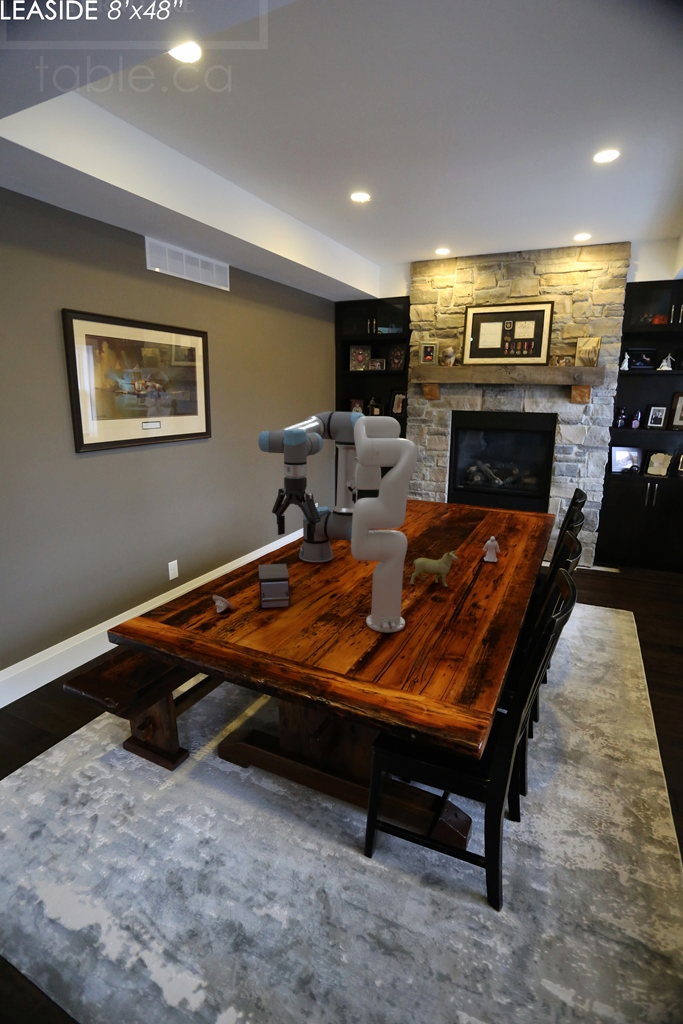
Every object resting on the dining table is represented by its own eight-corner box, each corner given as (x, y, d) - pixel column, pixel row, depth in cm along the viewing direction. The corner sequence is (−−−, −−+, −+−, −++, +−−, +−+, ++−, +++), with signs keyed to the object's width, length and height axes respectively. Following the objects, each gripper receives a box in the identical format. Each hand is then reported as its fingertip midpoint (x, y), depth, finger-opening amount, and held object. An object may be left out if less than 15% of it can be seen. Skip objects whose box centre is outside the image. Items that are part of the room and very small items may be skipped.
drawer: (289, 613, 166) (289, 589, 164) (262, 615, 165) (262, 591, 163) (285, 591, 184) (285, 569, 182) (260, 593, 182) (260, 570, 180)
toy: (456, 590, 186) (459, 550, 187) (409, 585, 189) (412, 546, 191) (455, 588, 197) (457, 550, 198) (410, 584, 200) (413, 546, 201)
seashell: (218, 620, 170) (203, 603, 170) (229, 610, 174) (214, 593, 173) (227, 616, 164) (211, 598, 164) (238, 606, 168) (222, 587, 167)
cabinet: (289, 605, 175) (289, 577, 172) (260, 607, 173) (259, 578, 170) (286, 590, 188) (286, 563, 185) (259, 591, 186) (258, 564, 183)
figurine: (481, 562, 222) (483, 536, 219) (482, 556, 230) (484, 531, 227) (499, 564, 220) (501, 538, 217) (499, 558, 228) (501, 533, 225)
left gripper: (261, 473, 170) (262, 533, 175) (316, 483, 155) (315, 548, 160) (276, 470, 175) (277, 529, 181) (331, 479, 160) (330, 543, 166)
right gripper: (346, 461, 189) (345, 505, 193) (391, 461, 190) (390, 505, 194) (345, 458, 196) (344, 500, 200) (388, 458, 197) (387, 501, 201)
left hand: (295, 538), depth 170 cm, fingers open, 13 cm apart
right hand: (366, 503), depth 197 cm, fingers open, 9 cm apart
